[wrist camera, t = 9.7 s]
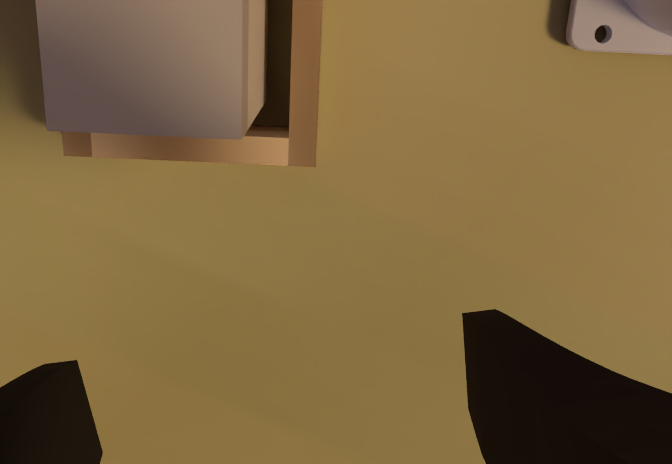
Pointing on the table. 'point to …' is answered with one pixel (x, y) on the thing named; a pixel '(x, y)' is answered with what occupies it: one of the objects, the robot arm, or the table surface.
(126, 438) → the table surface
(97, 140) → the rack
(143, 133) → the block
